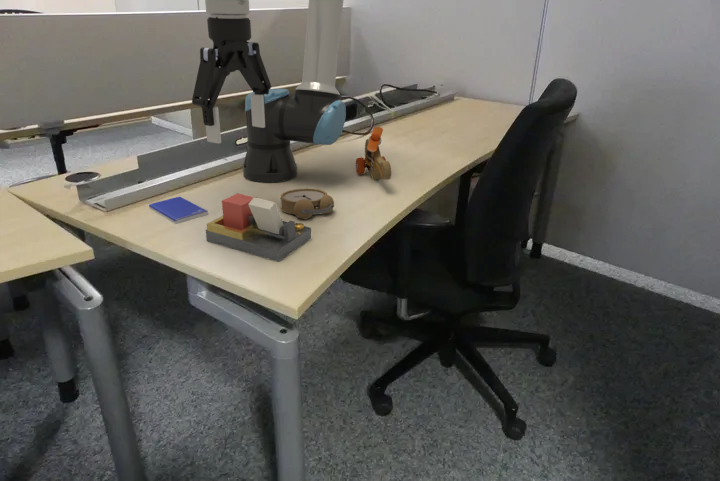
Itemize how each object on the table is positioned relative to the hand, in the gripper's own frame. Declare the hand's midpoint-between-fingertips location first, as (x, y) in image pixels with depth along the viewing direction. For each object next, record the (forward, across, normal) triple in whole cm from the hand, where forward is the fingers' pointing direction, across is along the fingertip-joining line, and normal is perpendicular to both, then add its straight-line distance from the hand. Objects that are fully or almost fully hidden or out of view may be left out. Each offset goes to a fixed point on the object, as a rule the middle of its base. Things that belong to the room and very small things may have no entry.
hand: (237, 134), depth 102 cm
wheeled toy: (+22, +46, -9) cm, 52 cm away
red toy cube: (+19, -2, 0) cm, 19 cm away
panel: (+22, -1, -4) cm, 22 cm away
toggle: (+18, -2, -8) cm, 20 cm away
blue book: (+22, +2, +21) cm, 31 cm away
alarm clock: (+22, +18, -4) cm, 29 cm away
